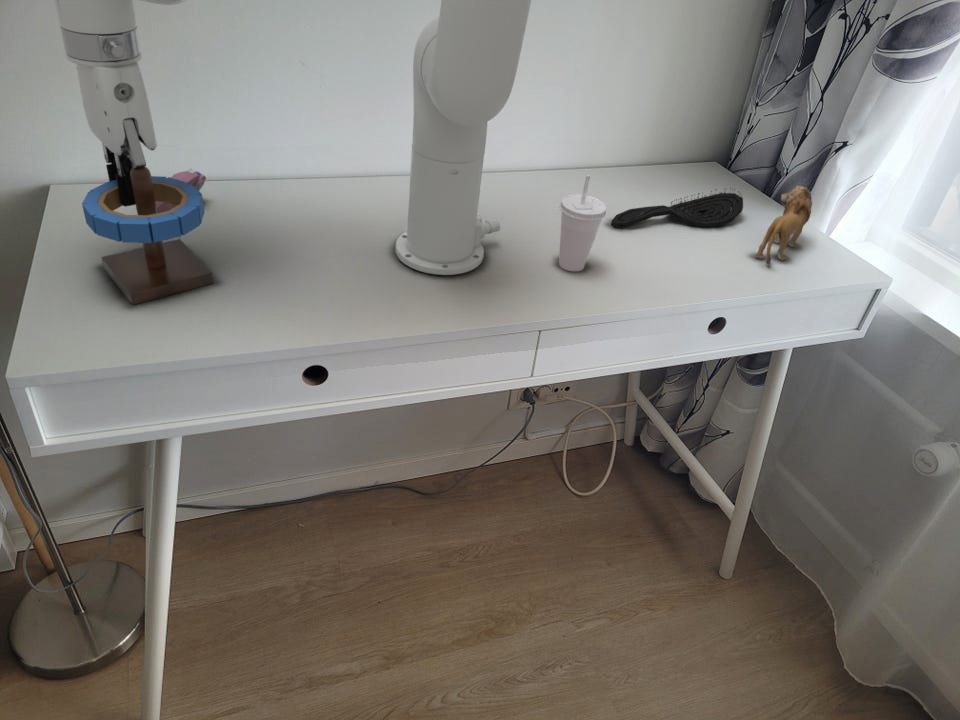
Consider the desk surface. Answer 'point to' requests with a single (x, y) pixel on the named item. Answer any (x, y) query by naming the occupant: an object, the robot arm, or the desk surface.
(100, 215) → the tape roll
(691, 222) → the hairbrush
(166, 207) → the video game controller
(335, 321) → the desk surface
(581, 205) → the smoothie
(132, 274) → the stand
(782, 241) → the lion figurine
